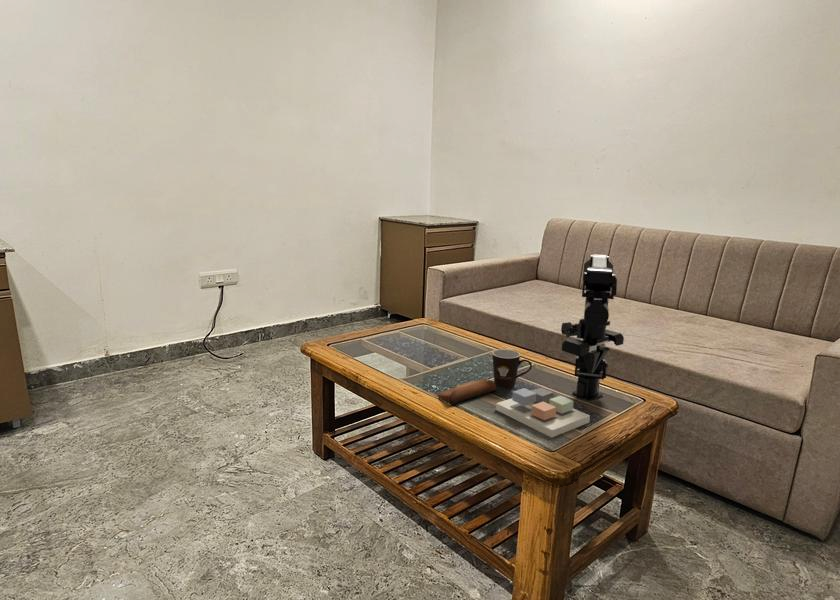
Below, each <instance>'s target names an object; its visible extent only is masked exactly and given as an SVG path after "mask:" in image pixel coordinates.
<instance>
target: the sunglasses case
mask: <svg viewBox="0 0 840 600" xmlns="http://www.w3.org/2000/svg"><path fill="white" fill-rule="evenodd" d="M496 391H497V386H496V385H495V383H494V380H490V379H480V380H479V379H478V380H472V381H468V382H465V383H460V384H457V385H455V386H454V387H451V388H449V389H447V390H444V391H441V392H440V393H438V394H436V395H437V396H438V397H439V398H441V399H442V400H444V401H446V402H447V403H449V404H451V406H452V405H453V406H454V405H457V404H459V403H461V402H464V401H466V400H468V399H472V398H475V397H478V396H481V395H485V394H487V393H491V392H496ZM447 403H446V404H447ZM449 404H448V405H449Z"/></svg>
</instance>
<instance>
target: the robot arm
mask: <svg viewBox="0 0 840 600" xmlns="http://www.w3.org/2000/svg"><path fill="white" fill-rule="evenodd" d="M609 257H610V256H608V255H607V254H596V253H595V254H591V255H590V259H589V260H587V261H586V262H585V263H583V273H582V292H581V297H582V298H585V300H584V312H583V313H584V314H583V317H582V318H580V319H579V320H578V323H572V322H571V321H568V322H563V323H562V324H561V328H560V329H561V330H560V331H561V335H563V336H565V337H566V338H569V339H565V340H564V341H562V342H561V346H560V347H561V348H560V349H561V351H562V352H565V353H568V354H572V355H574V356H575V365H574V377H577V382H576V390H574V391H572V395H575V396H577V397H580V398H583V399H584V400H587V401H593V400H595V399H598V398H600V397H603V396H604V395H603V393H601V392H600V391H599V390H600V380H603V381H604V380H605V379H606V378H607V373H608V367H609V365H608V363H607V360H606V358H605V359H604V357H605V356H606V355H607V353H608V352H609V351H610V350H611V348H610V347H606V343H609V342H613V344H614V345H615V346H616V347H617V346H622V345H624V338H625V337H624V335H623V334H622V333H620V332H618V331H613V330H610V329H607V327H608V326H610V325H611V321H610V320H609V317H610V313H609V312H610V311H609V303H610V302H609V300H614V296H617V286H618V278H617V276H616V273H614V265H613V263H612V262H611V261H610V260H609ZM570 337H572V338H570ZM573 337H576V338H573ZM581 339H582V340H581Z"/></svg>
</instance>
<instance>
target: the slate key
mask: <svg viewBox="0 0 840 600" xmlns="http://www.w3.org/2000/svg"><path fill="white" fill-rule="evenodd" d="M511 395H512V396H511V397H512V400H513V401H515V402H517V403H519V404H521V405H524V406H525V405H528V404H531V403H534V402H536V393H534V392H532V390H530V389H528V388H525V387H523V388H521V389H517V390H514V391H512V394H511Z"/></svg>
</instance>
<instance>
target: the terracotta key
mask: <svg viewBox="0 0 840 600" xmlns="http://www.w3.org/2000/svg"><path fill="white" fill-rule="evenodd" d="M531 414H532V415H534V416H536V417H538V418H540V419H542V420H546V419H549V418H552V417H555V416H556V407H555V406H552V405H550V404H548V403H546V402H540V403H537V404H534V405H532V408H531Z"/></svg>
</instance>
